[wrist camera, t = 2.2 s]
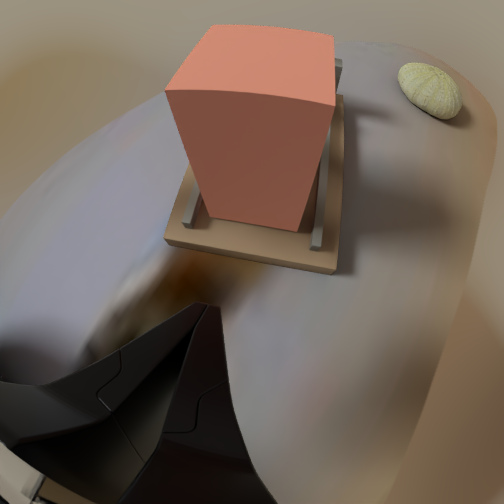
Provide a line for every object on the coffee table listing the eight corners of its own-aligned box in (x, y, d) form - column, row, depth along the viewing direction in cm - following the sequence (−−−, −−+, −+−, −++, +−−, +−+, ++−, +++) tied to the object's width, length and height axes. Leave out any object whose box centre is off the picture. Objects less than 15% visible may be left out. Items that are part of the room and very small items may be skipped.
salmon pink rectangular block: (297, 231, 18) (335, 106, 8) (209, 216, 19) (164, 89, 8) (306, 161, 20) (333, 35, 10) (230, 149, 21) (212, 24, 10)
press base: (330, 275, 19) (358, 247, 13) (169, 245, 20) (138, 209, 14) (340, 105, 25) (352, 61, 19) (227, 89, 26) (221, 44, 20)
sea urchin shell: (385, 58, 26) (435, 41, 20) (408, 97, 31) (452, 83, 25) (402, 98, 23) (462, 79, 17) (424, 140, 28) (475, 126, 22)
